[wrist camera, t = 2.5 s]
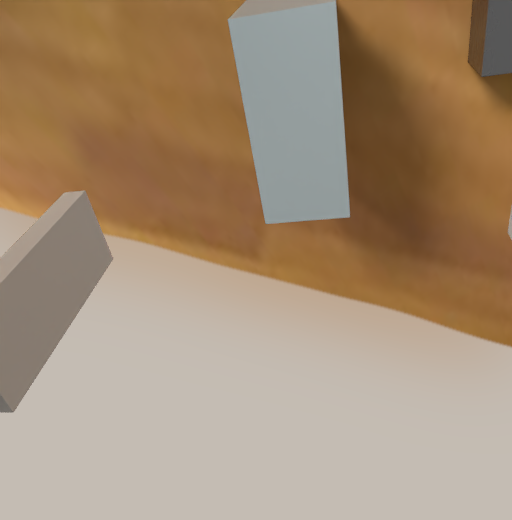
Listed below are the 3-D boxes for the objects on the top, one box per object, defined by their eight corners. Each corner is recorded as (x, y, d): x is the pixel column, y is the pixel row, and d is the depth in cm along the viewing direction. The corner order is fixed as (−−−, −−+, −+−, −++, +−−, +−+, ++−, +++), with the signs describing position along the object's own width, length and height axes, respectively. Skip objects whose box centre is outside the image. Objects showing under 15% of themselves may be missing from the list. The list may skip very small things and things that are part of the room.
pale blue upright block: (282, 143, 31) (265, 224, 23) (259, -14, 26) (227, 19, 18) (345, 136, 30) (350, 217, 22) (334, -28, 25) (335, 1, 17)
